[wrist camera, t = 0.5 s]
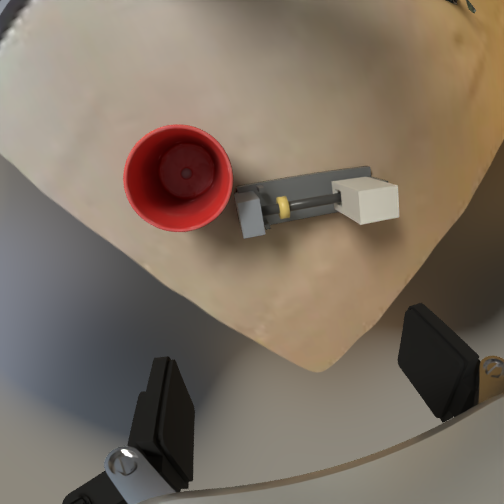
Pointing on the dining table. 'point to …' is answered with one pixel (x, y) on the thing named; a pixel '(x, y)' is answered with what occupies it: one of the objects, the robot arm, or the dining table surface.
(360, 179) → the white sliding block
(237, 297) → the dining table surface
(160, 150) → the flower pot
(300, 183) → the grey slider rail
